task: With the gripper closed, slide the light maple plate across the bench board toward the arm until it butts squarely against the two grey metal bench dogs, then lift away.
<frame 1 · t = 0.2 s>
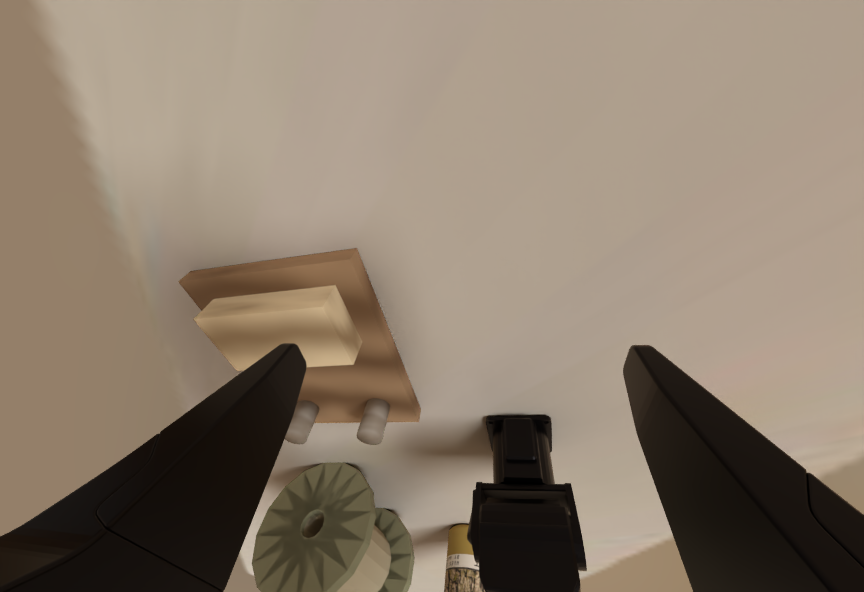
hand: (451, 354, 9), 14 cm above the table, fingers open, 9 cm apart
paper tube: (469, 529, 57), on the table
bench board: (320, 348, 32), on the table
spool: (358, 487, 52), on the table
maple plate: (289, 320, 28), point 1 cm above the table, touching bench board
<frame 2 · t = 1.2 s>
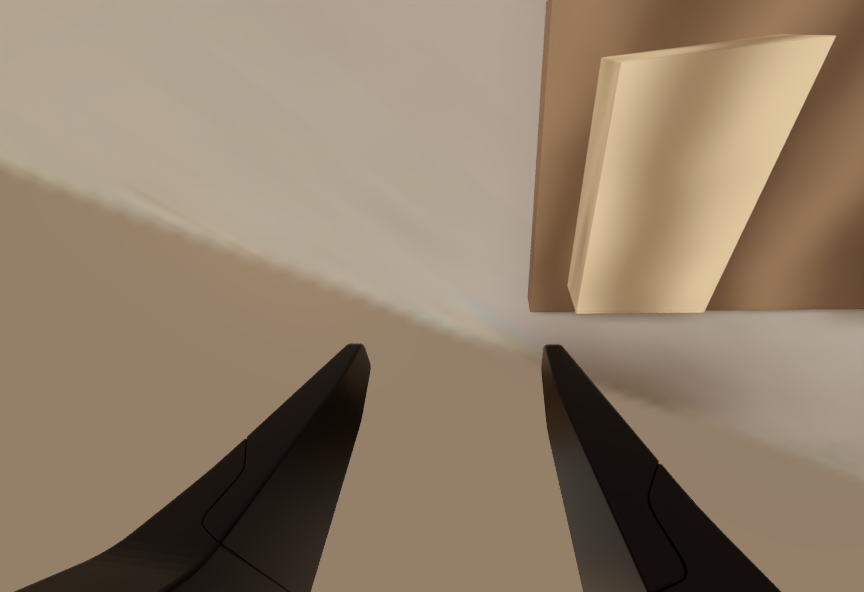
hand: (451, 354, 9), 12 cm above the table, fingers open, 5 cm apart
bench board: (750, 170, 16), on the table
maple plate: (648, 190, 16), point 1 cm above the table, touching bench board
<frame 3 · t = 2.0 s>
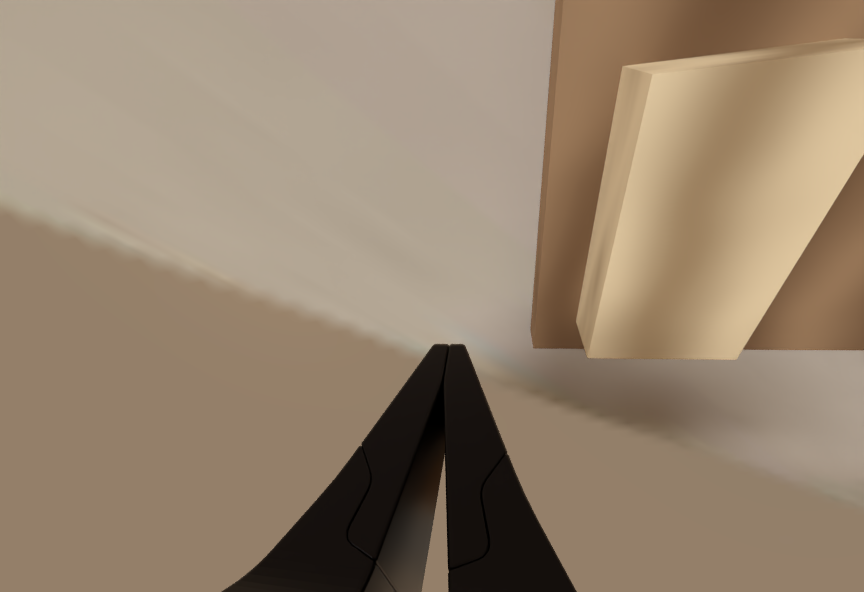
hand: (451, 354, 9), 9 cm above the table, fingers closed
bench board: (791, 196, 14), on the table
maple plate: (673, 219, 14), point 1 cm above the table, touching bench board
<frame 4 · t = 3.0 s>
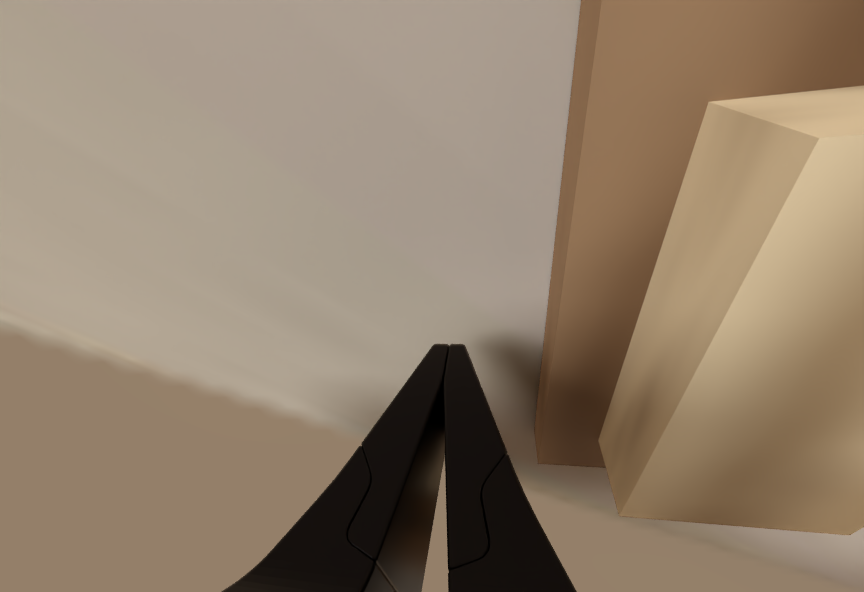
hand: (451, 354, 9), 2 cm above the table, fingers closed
maple plate: (760, 331, 9), point 1 cm above the table, touching bench board
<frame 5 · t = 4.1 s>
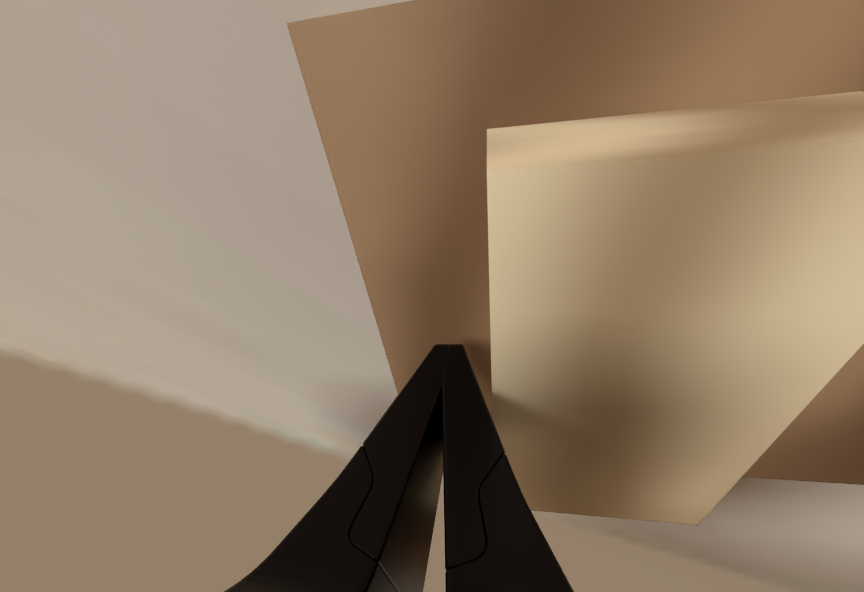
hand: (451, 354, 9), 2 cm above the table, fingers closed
bench board: (722, 296, 10), on the table
maple plate: (601, 334, 9), point 2 cm above the table, touching gripper
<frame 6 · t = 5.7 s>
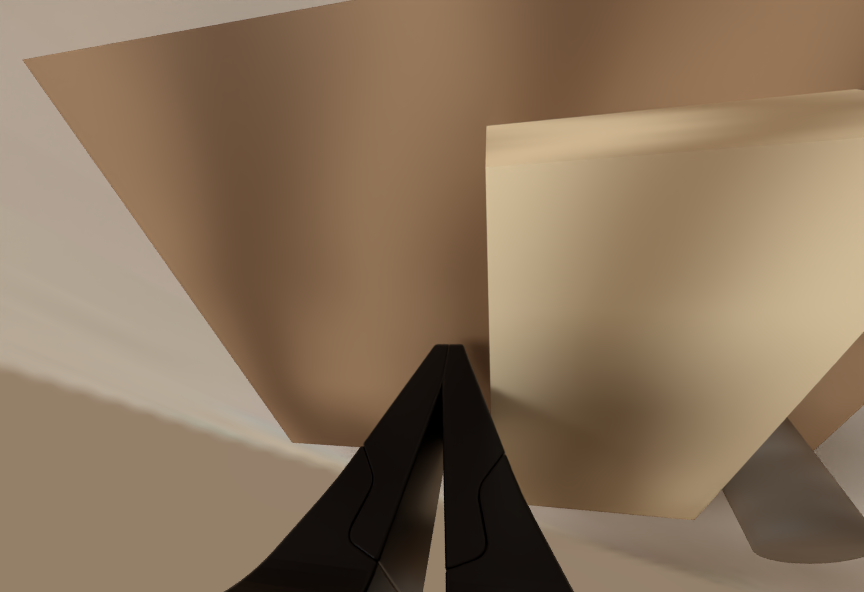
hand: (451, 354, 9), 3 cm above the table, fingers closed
bench board: (509, 294, 11), on the table
maple plate: (600, 330, 9), point 1 cm above the table, touching bench board, gripper
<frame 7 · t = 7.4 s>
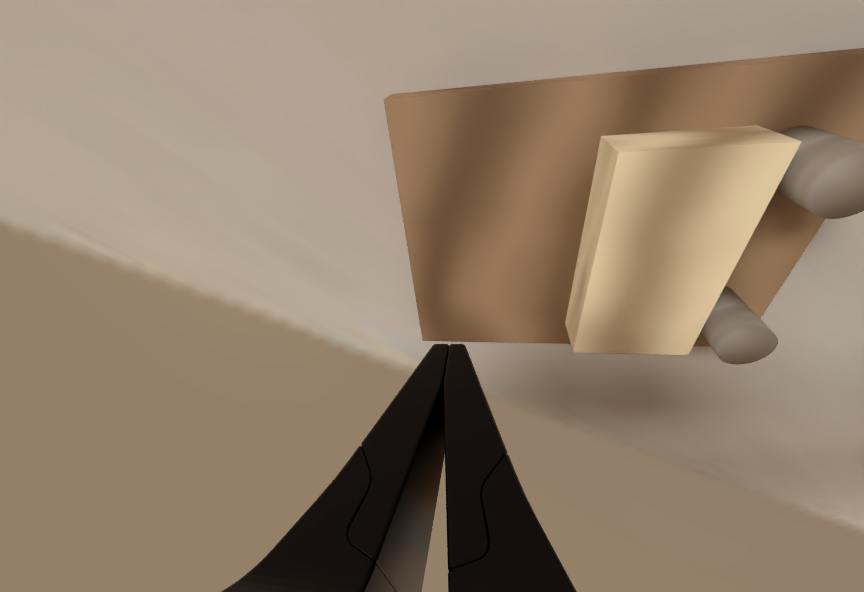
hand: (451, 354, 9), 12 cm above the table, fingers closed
bench board: (585, 230, 19), on the table
maple plate: (640, 245, 18), point 1 cm above the table, touching bench board
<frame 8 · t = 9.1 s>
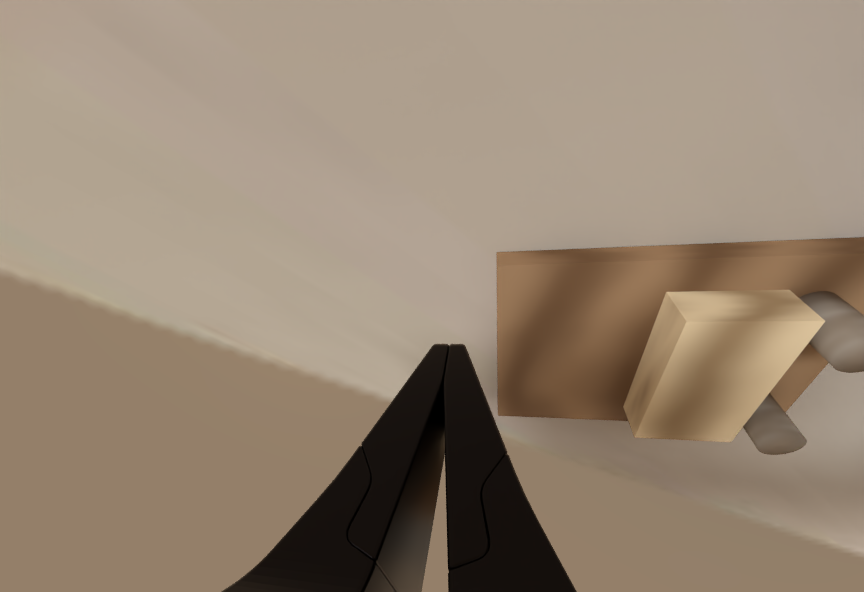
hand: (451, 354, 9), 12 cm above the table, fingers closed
bench board: (644, 339, 24), on the table
maple plate: (691, 358, 22), point 1 cm above the table, touching bench board
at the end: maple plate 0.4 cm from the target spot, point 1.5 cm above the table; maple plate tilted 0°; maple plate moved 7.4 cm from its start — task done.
